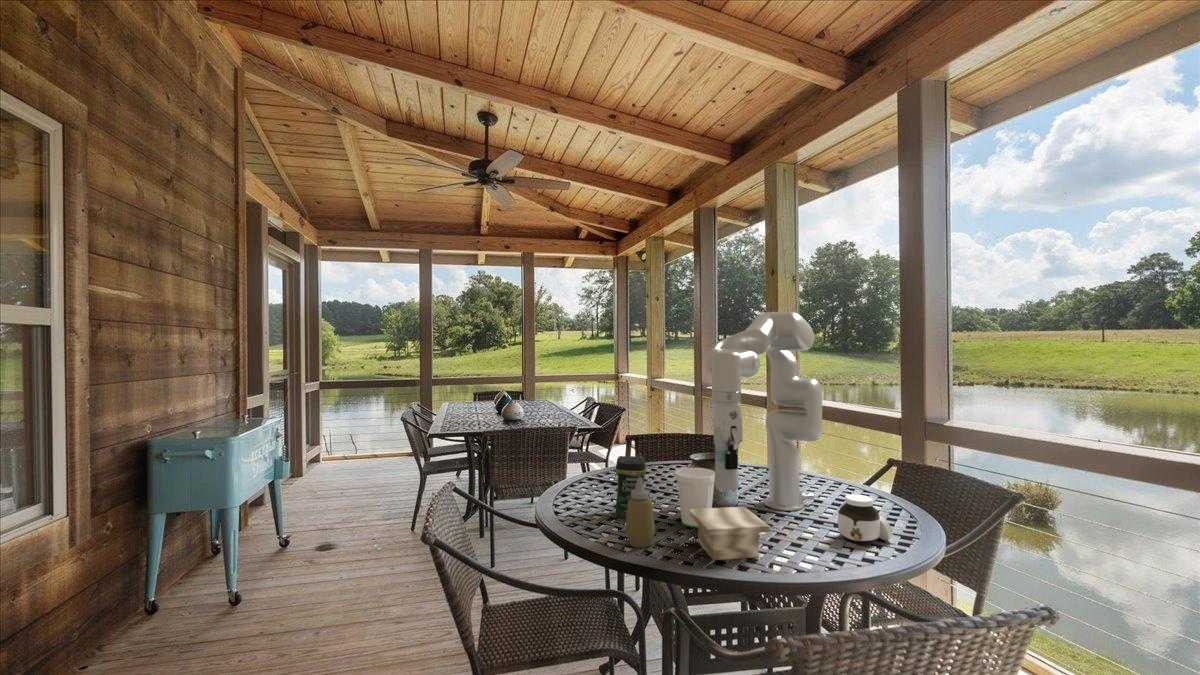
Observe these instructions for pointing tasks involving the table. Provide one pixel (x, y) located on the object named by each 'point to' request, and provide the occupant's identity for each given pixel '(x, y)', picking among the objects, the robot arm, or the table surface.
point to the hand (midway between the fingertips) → (726, 465)
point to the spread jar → (862, 521)
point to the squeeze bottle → (640, 517)
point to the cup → (694, 491)
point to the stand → (729, 532)
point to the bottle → (723, 466)
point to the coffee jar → (628, 480)
